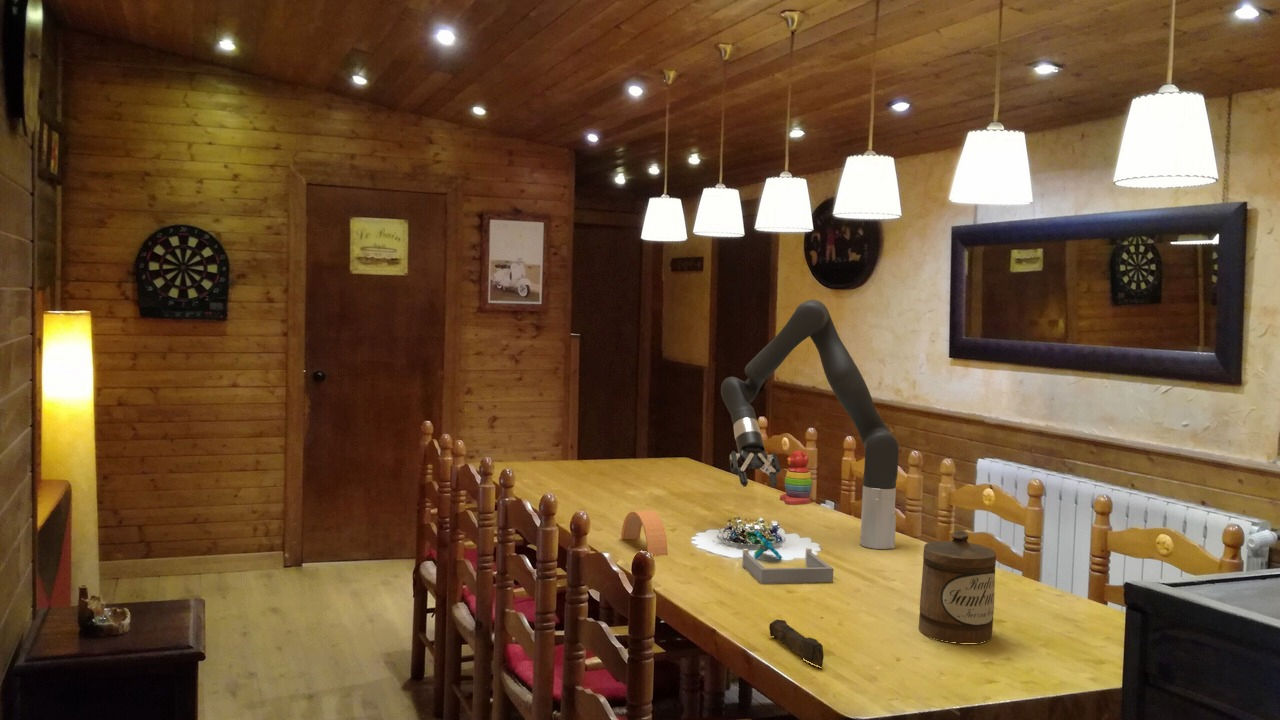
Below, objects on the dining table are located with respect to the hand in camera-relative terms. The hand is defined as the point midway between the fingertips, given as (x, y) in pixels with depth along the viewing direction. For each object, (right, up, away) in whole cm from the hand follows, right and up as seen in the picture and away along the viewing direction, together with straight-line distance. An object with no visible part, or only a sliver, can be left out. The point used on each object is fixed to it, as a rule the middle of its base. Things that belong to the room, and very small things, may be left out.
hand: (759, 485), depth 277 cm
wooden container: (+33, -23, -66) cm, 77 cm away
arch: (-32, -17, -1) cm, 37 cm away
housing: (+4, -19, -23) cm, 30 cm away
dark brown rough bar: (-2, -23, -80) cm, 83 cm away
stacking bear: (+21, -15, +70) cm, 75 cm away
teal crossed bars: (+1, -19, -8) cm, 20 cm away
